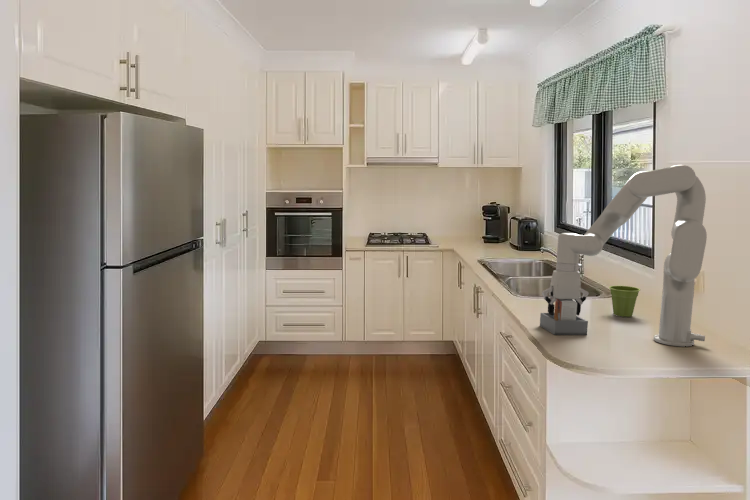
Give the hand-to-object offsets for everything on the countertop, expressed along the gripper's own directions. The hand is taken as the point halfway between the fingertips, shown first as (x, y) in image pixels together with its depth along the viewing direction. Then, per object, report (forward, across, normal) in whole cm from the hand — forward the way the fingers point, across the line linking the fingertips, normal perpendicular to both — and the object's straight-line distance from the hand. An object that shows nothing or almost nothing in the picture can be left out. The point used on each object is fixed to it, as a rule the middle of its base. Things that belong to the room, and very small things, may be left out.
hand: (563, 314), depth 223 cm
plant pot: (+6, -37, -24) cm, 44 cm away
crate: (+6, 0, 0) cm, 6 cm away
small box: (+5, 0, 0) cm, 5 cm away
